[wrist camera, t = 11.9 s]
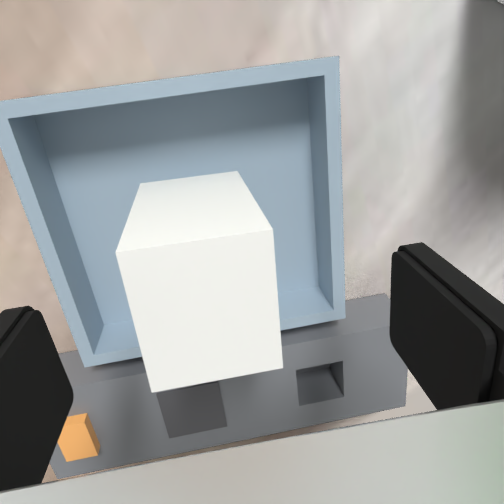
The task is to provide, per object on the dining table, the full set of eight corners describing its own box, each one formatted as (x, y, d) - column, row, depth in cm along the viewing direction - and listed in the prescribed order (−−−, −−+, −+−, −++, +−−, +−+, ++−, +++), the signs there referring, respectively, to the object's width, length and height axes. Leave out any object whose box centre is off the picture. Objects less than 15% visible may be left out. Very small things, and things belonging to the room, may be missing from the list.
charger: (231, 160, 19) (273, 229, 10) (241, 249, 20) (283, 368, 12) (144, 171, 18) (115, 252, 10) (163, 261, 20) (151, 392, 12)
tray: (316, 58, 18) (339, 55, 15) (326, 289, 23) (345, 318, 20) (16, 98, 17) (-17, 103, 14) (97, 330, 22) (84, 367, 19)
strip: (384, 293, 23) (416, 328, 20) (382, 371, 26) (410, 414, 23) (38, 357, 22) (12, 406, 19) (72, 434, 24) (54, 489, 21)
